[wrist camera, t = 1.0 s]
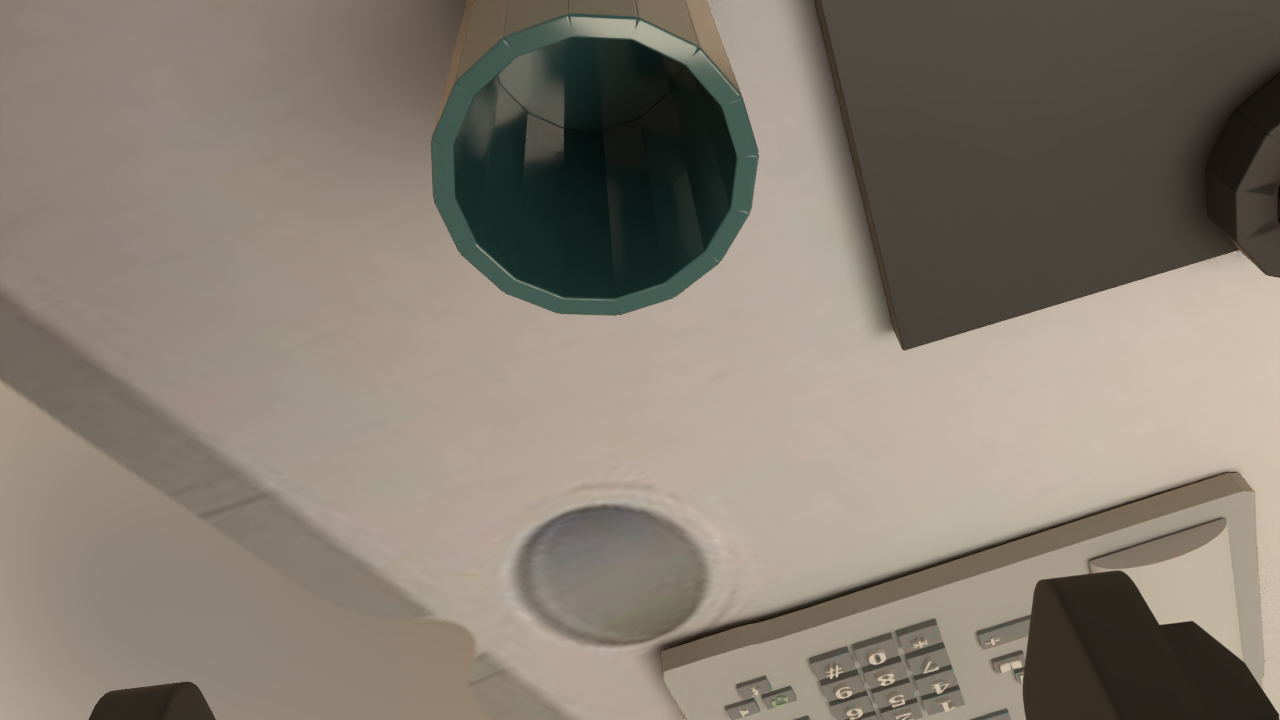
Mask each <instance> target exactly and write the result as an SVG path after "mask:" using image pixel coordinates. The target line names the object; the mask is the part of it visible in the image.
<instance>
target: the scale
mask: <svg viewBox="0 0 1280 720" xmlns="http://www.w3.org/2000/svg"><path fill="white" fill-rule="evenodd" d="M814 1H815V6H816V10H817V14H818V18H819V22H820V26H821V30H822V35H823V39H824V43H825V47H826V51H827V55H828V59H829V64H830V68H831V72H832V76H833V80H834V84H835V88H836V93H837V97H838V101H839V105H840V109H841V113H842V117H843V122H844V126H845V130H846V134H847V138H848V142H849V146H850V151H851V155H852V159H853V163H854V167H855V171H856V175H857V180H858V184H859V188H860V192H861V196H862V200H863V204H864V209H865V213H866V217H867V221H868V225H869V229H870V233H871V237H872V242H873V246H874V250H875V254H876V258H877V262H878V266H879V271H880V275H881V279H882V283H883V287H884V291H885V295H886V300H887V304H888V308H889V312H890V316H891V320H892V324H893V329H894V332H895V334H896V336H897V339H898V341H899V343H900V345H901V347H902V349H903V350H907V349H911V348H914V347H917V346H921V345H924V344H927V343H931V342H934V341H937V340H941V339H944V338H947V337H951V336H954V335H957V334H961V333H964V332H967V331H971V330H974V329H977V328H981V327H984V326H987V325H991V324H994V323H997V322H1001V321H1004V320H1007V319H1011V318H1014V317H1017V316H1021V315H1024V314H1027V313H1031V312H1034V311H1037V310H1041V309H1044V308H1047V307H1051V306H1054V305H1057V304H1061V303H1064V302H1067V301H1071V300H1074V299H1077V298H1081V297H1084V296H1087V295H1091V294H1094V293H1097V292H1100V291H1104V290H1107V289H1110V288H1114V287H1117V286H1120V285H1124V284H1127V283H1130V282H1134V281H1137V280H1140V279H1144V278H1147V277H1150V276H1154V275H1157V274H1160V273H1164V272H1167V271H1170V270H1174V269H1177V268H1180V267H1184V266H1187V265H1190V264H1194V263H1197V262H1200V261H1204V260H1207V259H1210V258H1214V257H1217V256H1220V255H1224V254H1227V253H1230V252H1234V251H1237V250H1240V251H1241V252H1242V253H1243V254H1244V255H1245V256H1246V257H1247V258H1248V259H1250V260H1251V261H1252V262H1253V263H1254V264H1255V265H1256V266H1257V267H1258V268H1259V269H1260V270H1261V271H1262V272H1263V273H1264V274H1266V275H1268V276H1273V277H1279V278H1280V0H814Z"/></svg>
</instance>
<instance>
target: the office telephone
mask: <svg viewBox="0 0 1280 720" xmlns="http://www.w3.org/2000/svg"><path fill="white" fill-rule="evenodd" d="M1116 570H1120V571H1122V572H1124V573H1126V574H1127V575H1128V576H1129V577H1130V578H1131V579H1132V580H1133V582H1134V583H1135V585H1136V586H1137V588H1138V590H1139V591H1140V593H1141V595H1142V596H1143V598H1144V600H1145V601H1146V603H1147V605H1148V606H1149V608H1150V610H1151V611H1152V613H1153V615H1154V617H1155V618H1156V620H1157V622H1158V623H1159V625H1163V624H1171V623H1179V622H1188V621H1194V622H1195V623H1196V624H1197V625H1199V626H1200V627H1201V628H1202V629H1204V630H1205V631H1206V632H1207V633H1209V634H1210V635H1211V636H1212V637H1213V638H1215V639H1216V640H1217V641H1218V642H1220V643H1221V644H1222V645H1223V646H1225V647H1226V648H1227V649H1228V650H1230V651H1231V652H1232V653H1233V654H1235V655H1236V656H1237V657H1238V658H1240V659H1241V660H1242V661H1243V662H1244V663H1245V664H1246V665H1247V667H1248V668H1249V670H1250V671H1251V673H1252V674H1253V676H1254V678H1255V679H1256V681H1257V682H1258V684H1259V685H1260V687H1261V688H1262V690H1263V687H1262V680H1261V679H1262V678H1263V676H1264V649H1263V633H1262V617H1261V601H1260V585H1259V569H1258V553H1257V537H1256V517H1255V492H1254V490H1253V489H1252V488H1251V487H1250V485H1249V484H1248V483H1247V482H1246V481H1245V479H1244V478H1243V477H1242V476H1241V474H1239V473H1226V474H1223V475H1219V476H1216V477H1213V478H1210V479H1207V480H1203V481H1200V482H1197V483H1194V484H1191V485H1188V486H1184V487H1181V488H1178V489H1175V490H1172V491H1168V492H1165V493H1162V494H1159V495H1156V496H1152V497H1149V498H1146V499H1143V500H1140V501H1137V502H1134V503H1131V504H1128V505H1125V506H1121V507H1118V508H1115V509H1112V510H1109V511H1106V512H1103V513H1100V514H1097V515H1094V516H1091V517H1087V518H1084V519H1081V520H1078V521H1075V522H1072V523H1069V524H1066V525H1063V526H1060V527H1056V528H1053V529H1050V530H1047V531H1044V532H1041V533H1038V534H1035V535H1032V536H1029V537H1025V538H1022V539H1019V540H1016V541H1013V542H1010V543H1007V544H1004V545H1001V546H998V547H994V548H991V549H988V550H985V551H982V552H979V553H976V554H973V555H970V556H967V557H964V558H960V559H957V560H954V561H951V562H948V563H945V564H942V565H939V566H936V567H933V568H929V569H926V570H923V571H920V572H917V573H914V574H911V575H908V576H905V577H902V578H898V579H895V580H892V581H889V582H886V583H883V584H880V585H877V586H874V587H871V588H867V589H864V590H861V591H858V592H855V593H852V594H849V595H846V596H843V597H840V598H837V599H833V600H830V601H827V602H824V603H821V604H818V605H815V606H812V607H809V608H805V609H802V610H799V611H796V612H792V613H789V614H786V615H783V616H780V617H776V618H773V619H770V620H766V621H762V622H758V623H755V624H748V625H744V626H741V627H737V628H733V629H730V630H727V631H724V632H721V633H718V634H715V635H711V636H708V637H705V638H702V639H699V640H696V641H693V642H689V643H686V644H683V645H680V646H677V647H674V648H671V649H667V650H664V651H661V660H662V669H663V678H664V681H665V683H666V686H667V688H668V690H669V692H670V694H671V695H672V697H673V698H674V700H675V701H676V703H677V705H678V706H679V708H680V709H681V711H682V713H683V714H684V716H685V717H686V719H687V720H1026V716H1025V711H1024V703H1023V676H1024V668H1025V660H1026V652H1027V643H1028V635H1029V627H1030V619H1031V611H1032V602H1033V595H1034V589H1035V586H1036V584H1037V582H1038V581H1040V580H1042V579H1051V578H1059V577H1067V576H1075V575H1083V574H1091V573H1099V572H1108V571H1116Z"/></svg>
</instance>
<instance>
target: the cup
mask: <svg viewBox="0 0 1280 720" xmlns="http://www.w3.org/2000/svg"><path fill="white" fill-rule="evenodd" d="M758 158H759V155H758V148H757V145H756V141H755V138H754V135H753V131H752V128H751V124H750V121H749V118H748V114H747V111H746V107H745V104H744V101H743V97H742V95H741V92H740V89H739V87H738V84H737V81H736V78H735V76H734V73H733V70H732V68H731V65H730V62H729V59H728V57H727V54H726V51H725V49H724V46H723V43H722V41H721V38H720V35H719V32H718V30H717V27H716V24H715V22H714V19H713V16H712V13H711V11H710V8H709V5H708V3H707V0H467V2H466V6H465V10H464V13H463V17H462V21H461V25H460V29H459V33H458V37H457V41H456V45H455V49H454V52H453V56H452V60H451V64H450V68H449V72H448V76H447V80H446V84H445V88H444V91H443V95H442V99H441V103H440V107H439V111H438V115H437V119H436V123H435V127H434V130H433V134H432V140H431V160H432V185H433V198H434V203H435V205H436V207H437V209H438V211H439V213H440V215H441V217H442V219H443V221H444V223H445V225H446V227H447V229H448V231H449V233H450V235H451V237H452V239H453V241H454V243H455V245H456V247H457V249H458V251H459V252H460V253H461V255H462V256H463V257H464V258H465V259H466V260H468V261H469V262H470V263H471V264H472V265H473V266H474V267H475V268H477V269H478V270H479V271H480V272H481V273H482V274H483V275H484V276H486V277H487V278H488V279H489V280H490V281H491V282H492V283H494V284H495V285H496V286H497V287H498V288H499V289H500V290H501V291H503V292H505V293H506V294H508V295H511V296H514V297H516V298H519V299H521V300H524V301H527V302H529V303H532V304H534V305H537V306H540V307H542V308H545V309H547V310H550V311H553V312H555V313H560V314H581V315H615V316H616V315H622V314H625V313H628V312H631V311H635V310H638V309H641V308H644V307H647V306H650V305H653V304H657V303H660V302H663V301H666V300H669V299H672V298H674V297H676V296H677V295H679V294H680V293H681V292H683V291H684V290H685V289H686V288H688V287H689V286H690V285H692V284H693V283H694V282H696V281H697V280H698V279H699V278H701V277H702V276H703V275H705V274H706V273H707V272H709V271H710V270H711V269H712V268H714V267H715V266H716V265H718V264H719V263H720V261H721V260H722V259H723V258H724V256H725V254H726V253H727V251H728V249H729V248H730V246H731V244H732V243H733V241H734V239H735V238H736V236H737V234H738V233H739V231H740V229H741V228H742V226H743V224H744V223H745V221H746V219H747V218H748V216H749V214H750V211H751V208H752V201H753V194H754V187H755V179H756V172H757V165H758Z"/></svg>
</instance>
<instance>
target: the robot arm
mask: <svg viewBox="0 0 1280 720" xmlns="http://www.w3.org/2000/svg"><path fill="white" fill-rule="evenodd" d="M1023 703H1024V711H1025V716H1026V720H1279V714H1278V713H1277V711H1276V710H1275V708H1274V707H1273V705H1272V704H1271V702H1270V701H1269V699H1268V697H1267V696H1266V694H1265V693H1264V691H1263V690H1262V688H1261V687H1260V685H1259V684H1258V682H1257V681H1256V679H1255V678H1254V676H1253V674H1252V673H1251V671H1250V670H1249V668H1248V667H1247V665H1246V664H1245V663H1244V662H1243V661H1242V660H1241V659H1240V658H1238V657H1237V656H1236V655H1235V654H1233V653H1232V652H1231V651H1230V650H1228V649H1227V648H1226V647H1225V646H1223V645H1222V644H1221V643H1220V642H1218V641H1217V640H1216V639H1215V638H1213V637H1212V636H1211V635H1210V634H1209V633H1207V632H1206V631H1205V630H1204V629H1202V628H1201V627H1200V626H1199V625H1197V624H1196V623H1195V622H1194V621H1188V622H1179V623H1171V624H1163V625H1159V623H1158V622H1157V620H1156V618H1155V617H1154V615H1153V613H1152V611H1151V610H1150V608H1149V606H1148V605H1147V603H1146V601H1145V600H1144V598H1143V596H1142V595H1141V593H1140V591H1139V590H1138V588H1137V586H1136V585H1135V583H1134V582H1133V580H1132V579H1131V578H1130V577H1129V576H1128V575H1127V574H1126V573H1124V572H1122V571H1120V570H1116V571H1108V572H1099V573H1091V574H1083V575H1075V576H1067V577H1059V578H1051V579H1042V580H1040V581H1038V582H1037V584H1036V586H1035V589H1034V595H1033V602H1032V611H1031V619H1030V627H1029V635H1028V643H1027V652H1026V660H1025V668H1024V676H1023ZM89 720H216V719H215V717H214V715H213V713H212V711H211V710H210V708H209V706H208V704H207V702H206V700H205V698H204V696H203V694H202V692H201V691H200V689H199V688H198V687H197V686H196V685H195V684H193V683H191V682H181V683H173V684H165V685H157V686H148V687H140V688H131V689H123V690H116V691H111V692H108V693H106V694H105V695H104V696H103V697H102V698H100V700H99V701H98V702H97V704H96V705H95V707H94V709H93V711H92V714H91V716H90V718H89Z"/></svg>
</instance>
